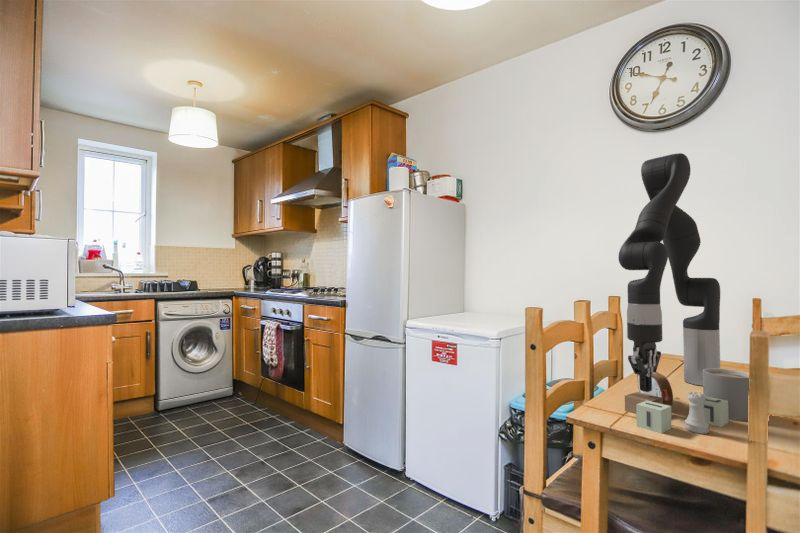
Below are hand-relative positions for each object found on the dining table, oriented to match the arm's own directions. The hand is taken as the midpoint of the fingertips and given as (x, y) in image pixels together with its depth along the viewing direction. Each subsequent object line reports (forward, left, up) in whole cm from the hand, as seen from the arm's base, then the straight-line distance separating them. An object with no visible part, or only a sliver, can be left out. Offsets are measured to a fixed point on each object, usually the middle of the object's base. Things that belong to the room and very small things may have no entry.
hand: (645, 390), depth 100 cm
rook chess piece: (+5, +12, -5) cm, 14 cm away
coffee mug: (-16, +12, -5) cm, 21 cm away
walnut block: (+1, 0, -5) cm, 5 cm away
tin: (-9, -2, -5) cm, 10 cm away
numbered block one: (+10, +6, -5) cm, 13 cm away
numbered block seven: (-5, +12, -5) cm, 14 cm away
